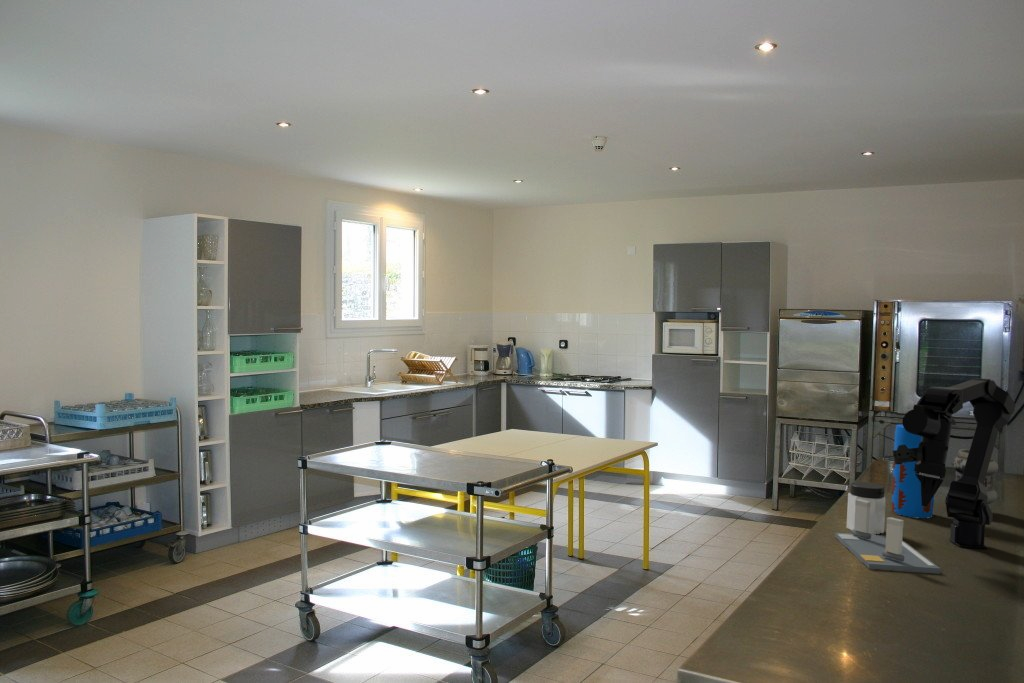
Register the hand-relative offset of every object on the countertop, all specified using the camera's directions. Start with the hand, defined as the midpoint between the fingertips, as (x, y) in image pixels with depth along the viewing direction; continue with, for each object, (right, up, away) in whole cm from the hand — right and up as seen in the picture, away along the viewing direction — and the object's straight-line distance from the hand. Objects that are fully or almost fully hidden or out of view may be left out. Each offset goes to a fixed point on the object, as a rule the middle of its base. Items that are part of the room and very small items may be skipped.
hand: (924, 506), depth 184 cm
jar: (-4, -11, +23) cm, 26 cm away
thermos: (+19, -11, +42) cm, 48 cm away
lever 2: (-10, -10, -6) cm, 16 cm away
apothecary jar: (+38, -12, +46) cm, 61 cm away
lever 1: (-10, -9, +11) cm, 17 cm away
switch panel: (-8, -12, +2) cm, 15 cm away
